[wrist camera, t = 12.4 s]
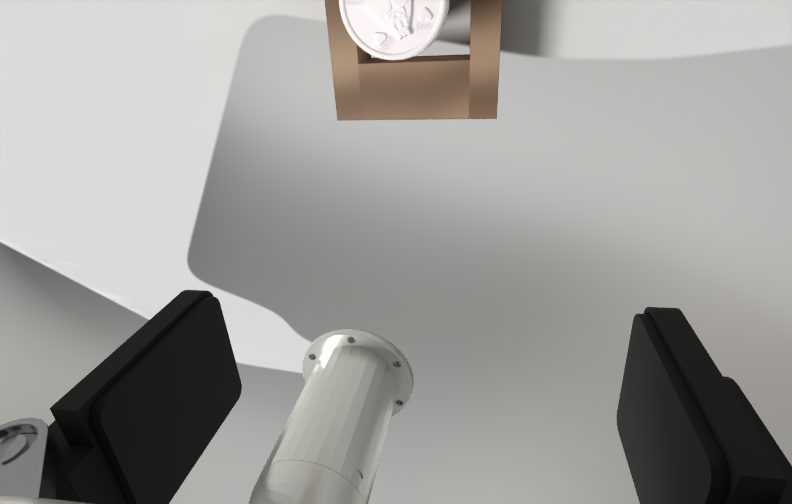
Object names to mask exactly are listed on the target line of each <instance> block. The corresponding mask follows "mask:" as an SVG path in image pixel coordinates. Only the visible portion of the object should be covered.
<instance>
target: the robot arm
mask: <svg viewBox="0 0 792 504" xmlns="http://www.w3.org/2000/svg"><path fill="white" fill-rule="evenodd" d="M302 370H303V376H304V379H305V382H306V385H305V387H304V389H303V391H302V393H301V395H300V397H299V399H298V401H297V403H296V405H295V407H294V409H293V411H292V413H291V415H290V417H289V419H288V421H287V423H286V425H285V427H284V429H283V430H282V433H281V434H280V436H279V438H278V440H277V443H276V445H275V446H274V448H273V450H272V452H271V454H270V456H269V459H268V460H267V462H266V464H265V466H264V468H263V470H262V472H261V474H260V476H259V478H258V480H257V482H256V484H255V486H254V489H253V491H252V493H251V497H250V501H249V504H368V501H369V497H370V493H371V490H372V486H373V482H374V478H375V475H376V471H377V467H378V463H379V459H380V456H381V452H382V448H383V444H384V441H385V437H386V433H387V429H388V425H389V421H390V418H391V416H393V415H394V414H396V413H398V412H399V411H400V410H401V409H403V408H404V407H405V405H406V404H407V402H408V401H409V399H410V396H411V393H412V388H413V374H412V370H411V367H410V365H409V363H408V361H407V359H406V358H405V357H404V355H403V354H402V353H401V352H400V350H398V349H397V348H396V347H395V346H394V345H393V344H392V343H390V342H388V341H387V340H385V339H384V338H382V337H380V336H378V335H375V334H373V333H370V332H366V331H363V330H357V329H339V330H334V331H330V332H328V333H325V334H323V335H321V336H320V337H319V338H317V339H316V340H315V341H314V342H313V343H312V344H311V345H310V347H309V349H308V350H307V352H306V354H305V357H304V360H303V369H302ZM241 387H242V385H241V380H240V377H239V373H238V370H237V366H236V362H235V358H234V354H233V351H232V347H231V343H230V339H229V336H228V332H227V328H226V324H225V321H224V317H223V313H222V310H221V306H220V302H219V300H218V299H217V298H216V297H213V295H212V293H211V292H209V291H199V290H184V291H183V292H181V293H180V294H179V295H178V296H176V297H175V298H174V299H173V300H172V301H171V302H170V303H169V304H167V305H166V306H165V307H164V308H163V309H162V310H161V311H159V312H158V313H157V314H156V315H155V316H154V317H153V318H152V319H150V320H149V321H148V322H147V323H146V324H145V325H144V326H143V327H141V328H140V329H139V330H138V331H137V332H136V333H135V334H133V336H131V337H130V338H129V339H128V340H127V341H126V342H124V343H123V344H122V345H121V346H120V347H119V348H118V349H117V350H115V351H114V352H113V353H112V354H111V355H110V356H109V357H108V358H107V359H105V360H104V361H103V362H102V363H101V364H100V365H98V366H97V367H96V368H95V369H94V370H93V371H92V372H90V373H89V374H88V375H87V376H86V377H85V378H84V379H83V380H81V381H80V382H79V383H78V384H77V385H76V386H75V387H74V388H72V389H71V390H70V391H69V392H68V393H67V394H66V395H64V396H63V397H62V398H61V399H60V400H59V401H58V402H56V403H55V404H54V405H53V406H52V407H51V408H50V410H51V412H52V414H53V416H54V418H55V421H54V422H53V423H52V424H51V425H50V426H49V427H48V425H47V424H46V423H45V422H44V421H43V420H41V419H36V418H25V419H19V420H15V421H11V422H8V423H6V424H3V425H1V426H0V504H169V502H170V501H171V499H172V498H173V496H174V495H175V493H176V492H177V490H178V489H179V487H180V486H181V484H182V483H183V481H184V480H185V478H186V477H187V475H188V474H189V472H190V471H191V469H192V468H193V466H194V465H195V464H196V462H197V460H198V459H199V457H200V456H201V455H202V453H203V452H204V450H205V448H206V447H207V445H208V444H209V442H210V441H211V440H212V438H213V436H214V435H215V433H216V432H217V430H218V429H219V427H220V426H221V425H222V423H223V421H224V420H225V418H226V417H227V415H228V414H229V412H230V411H231V409H232V408H233V407H234V405H235V404H236V402H237V400H238V399H239V397H240V394H241ZM617 426H618V431H619V435H620V438H621V442H622V444H623V448H624V452H625V455H626V458H627V461H628V465H629V468H630V472H631V475H632V478H633V482H634V485H635V488H636V492H637V495H638V498H639V502H640V504H792V466H791V464H790V463H789V461H788V460H787V458H786V457H785V455H784V454H783V452H782V451H781V450H780V448H779V446H778V445H777V444H776V442H775V440H774V439H773V437H772V436H771V434H770V433H769V431H768V430H767V428H766V427H765V425H764V424H763V422H762V421H761V419H760V418H759V416H758V414H757V413H756V412H755V410H754V408H753V407H752V405H751V404H750V402H749V401H748V399H747V398H746V396H745V395H744V393H743V392H742V390H741V389H740V387H739V386H738V385H737V383H736V382H735V381H734V380H733V379H731V378H729V377H723V376H722V375H721V373H720V372H719V370H718V368H717V367H716V365H715V364H714V362H713V360H712V359H711V357H710V356H709V354H708V353H707V351H706V349H705V348H704V346H703V345H702V343H701V342H700V340H699V339H698V337H697V335H696V334H695V332H694V330H693V329H692V327H691V326H690V324H689V323H688V321H687V320H686V318H685V316H684V315H683V313H682V312H681V310H680V309H677V308H657V307H647V308H646V309H645V311H644V314H636V315H635V317H634V320H633V325H632V331H631V336H630V342H629V348H628V354H627V359H626V365H625V371H624V376H623V382H622V388H621V393H620V399H619V405H618V411H617Z"/></svg>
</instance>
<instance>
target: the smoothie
mask: <svg viewBox="0 0 792 504" xmlns="http://www.w3.org/2000/svg"><path fill="white" fill-rule="evenodd" d="M339 6H340V12H341V17H342V20H343V23H344V25H345V27H346V29H347V31H348V33H349V35H350V36H351V38H352V39H353V40H354V41H355V43H356V44H357V45H358V46H359V47H361V48H362V49H363V50H364V51H366V52H367V53H369V54H371V55H373V56H375V57H378V58H381V59H386V60H403V59H407V58H410V57H413V56H416V55H418V54H419V53H421V52H422V51H424V50H425V49H427V48H428V47H429V46H430V45H431V44H432V43H433V42H434V41H435V39H436V38H437V37H438V36H439V34H440V32H441V30H442V28H443V26H444V24H445V22H446V18H447V14H448V10H449V0H339Z"/></svg>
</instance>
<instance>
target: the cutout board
mask: <svg viewBox="0 0 792 504" xmlns="http://www.w3.org/2000/svg"><path fill="white" fill-rule="evenodd" d="M325 7H326V16H327V26H328V35H329V44H330V53H331V63H332V72H333V82H334V91H335V100H336V110H337V120H417V119H419V120H420V119H421V120H422V119H496V118H497V102H498V100H497V99H498V78H499V57H500V35H501V13H502V0H471V23H470V54H469V55H442V56H417V57H416V56H414V57H410V58H407V59H403V60H386V59H381V58H371V54H369V53H367V52H366V51H364V50H363V49H362V48H361V47H359V46H358V45H357V44H356V43H355V41H354V40H353V39H352V38H351V36H350V35H349V33H348V31H347V29H346V27H345V25H344V23H343V20H342V17H341V12H340V6H339V0H325Z"/></svg>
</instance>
